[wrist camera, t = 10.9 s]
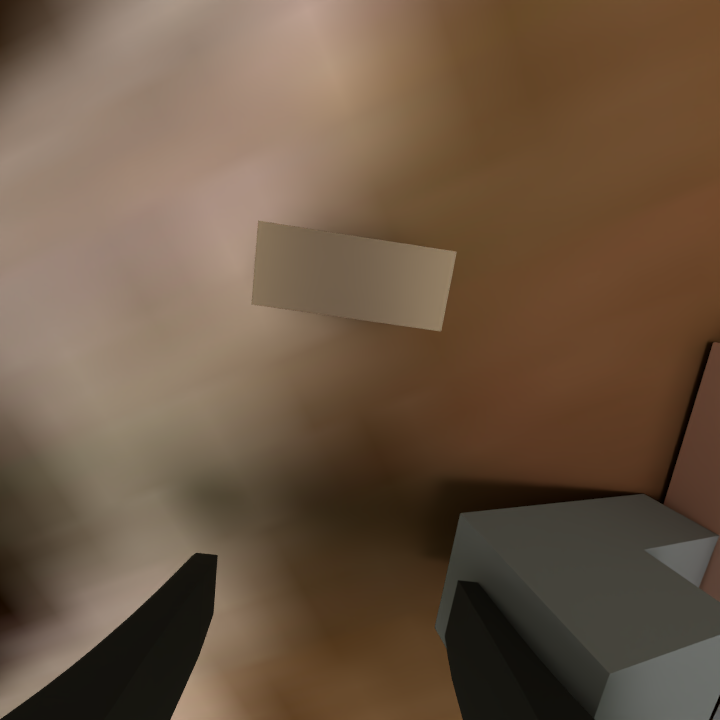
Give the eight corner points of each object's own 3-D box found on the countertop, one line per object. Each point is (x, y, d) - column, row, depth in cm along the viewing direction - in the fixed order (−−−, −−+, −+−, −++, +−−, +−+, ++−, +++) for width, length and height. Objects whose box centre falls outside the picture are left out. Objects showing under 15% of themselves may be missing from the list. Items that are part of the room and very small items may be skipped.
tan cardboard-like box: (845, 330, 13) (1171, 363, 8) (826, 371, 14) (1129, 429, 8) (298, 246, 12) (258, 220, 7) (293, 293, 13) (251, 304, 7)
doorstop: (643, 493, 15) (829, 596, 10) (612, 586, 16) (769, 718, 11) (460, 513, 12) (610, 674, 7) (434, 627, 12) (552, 835, 8)
